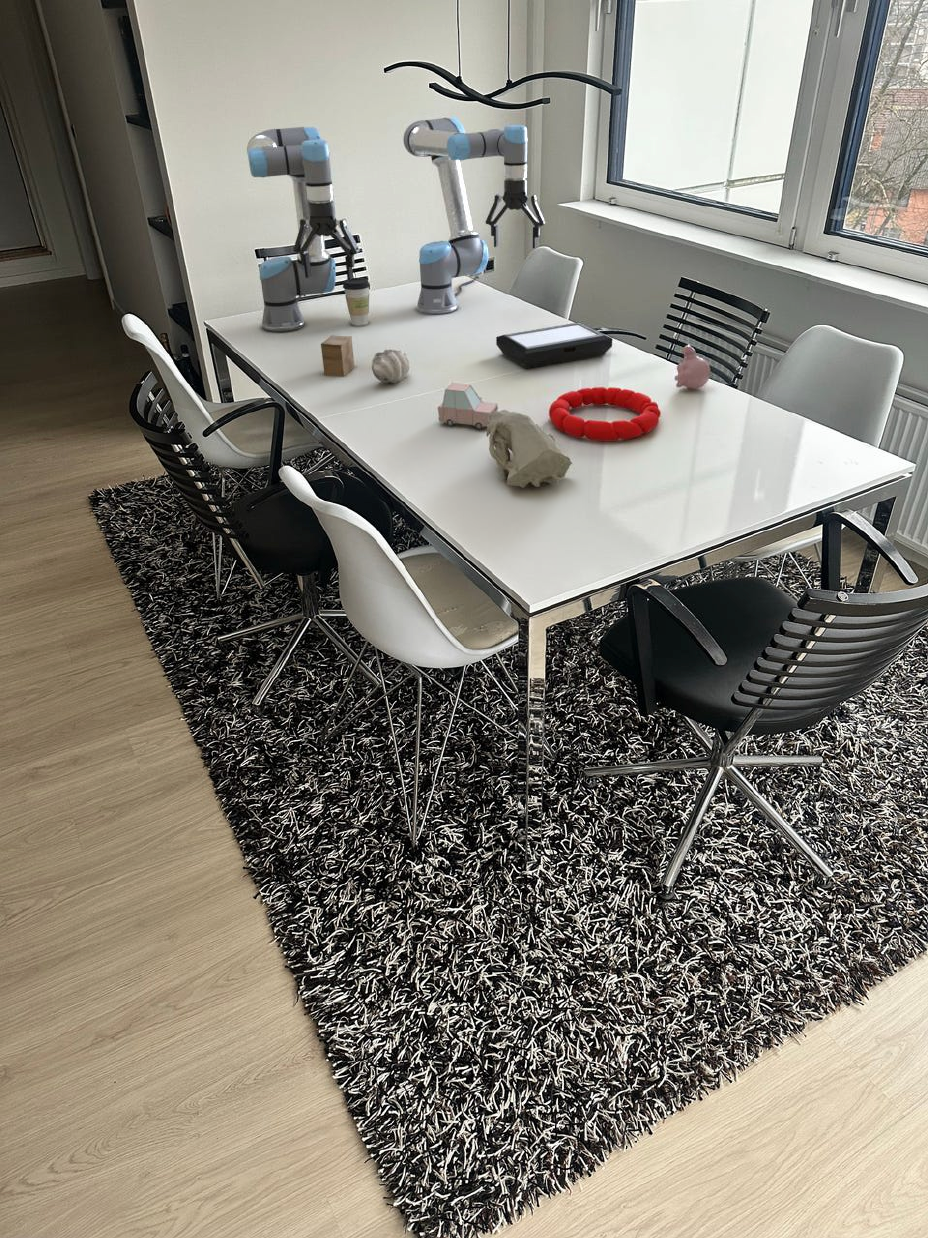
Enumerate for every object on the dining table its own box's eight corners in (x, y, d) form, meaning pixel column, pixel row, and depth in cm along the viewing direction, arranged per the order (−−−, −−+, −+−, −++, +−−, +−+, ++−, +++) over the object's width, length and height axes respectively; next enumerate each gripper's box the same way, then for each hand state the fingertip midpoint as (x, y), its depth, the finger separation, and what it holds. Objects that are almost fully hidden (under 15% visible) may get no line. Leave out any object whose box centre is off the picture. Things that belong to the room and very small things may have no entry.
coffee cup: (372, 326, 323) (368, 283, 314) (345, 327, 323) (340, 284, 315) (374, 318, 331) (371, 276, 322) (348, 319, 331) (344, 277, 323)
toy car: (488, 432, 240) (488, 396, 234) (436, 426, 244) (434, 390, 239) (499, 419, 247) (499, 384, 241) (448, 413, 252) (447, 379, 246)
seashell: (364, 381, 275) (361, 349, 270) (407, 372, 281) (405, 341, 275) (377, 391, 268) (374, 358, 262) (421, 382, 273) (420, 349, 268)
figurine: (665, 387, 264) (669, 347, 257) (693, 380, 268) (698, 340, 261) (686, 396, 257) (690, 355, 250) (714, 388, 262) (720, 348, 255)
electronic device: (524, 351, 275) (496, 334, 291) (524, 371, 279) (496, 353, 294) (612, 335, 286) (581, 320, 301) (611, 355, 289) (580, 338, 304)
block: (344, 376, 280) (340, 344, 275) (324, 374, 282) (320, 343, 276) (354, 367, 287) (351, 336, 282) (335, 365, 289) (331, 335, 283)
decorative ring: (589, 435, 224) (684, 402, 234) (527, 398, 247) (617, 369, 256) (589, 461, 229) (683, 427, 238) (529, 422, 251) (617, 393, 260)
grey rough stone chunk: (496, 517, 219) (521, 479, 201) (463, 429, 225) (484, 384, 207) (557, 503, 225) (586, 465, 206) (523, 417, 231) (549, 373, 212)
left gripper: (366, 199, 256) (372, 276, 268) (287, 197, 262) (296, 272, 274) (356, 204, 250) (363, 282, 262) (275, 202, 256) (286, 278, 268)
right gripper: (554, 177, 294) (552, 245, 306) (481, 176, 300) (482, 243, 312) (550, 180, 288) (548, 250, 300) (476, 179, 294) (477, 247, 306)
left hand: (329, 277), depth 268 cm, fingers open, 13 cm apart
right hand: (515, 246), depth 306 cm, fingers open, 13 cm apart
